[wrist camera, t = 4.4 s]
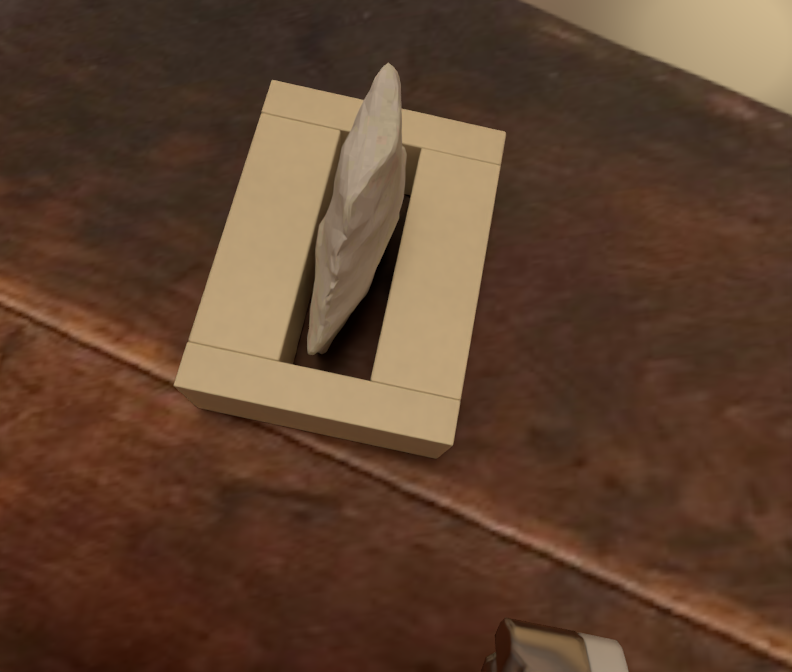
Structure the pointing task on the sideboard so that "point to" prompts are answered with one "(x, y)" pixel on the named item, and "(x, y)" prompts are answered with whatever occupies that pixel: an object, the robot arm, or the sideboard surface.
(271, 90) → the holder
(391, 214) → the arrowhead
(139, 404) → the sideboard surface
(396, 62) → the sideboard surface
